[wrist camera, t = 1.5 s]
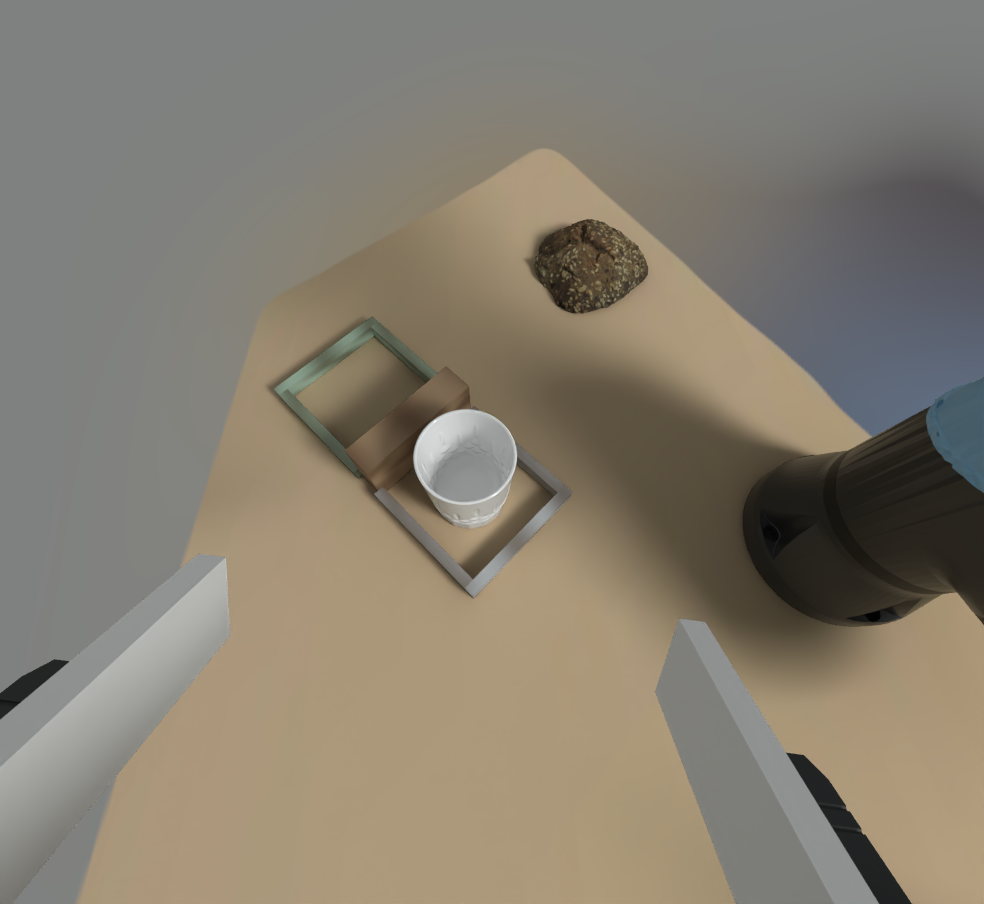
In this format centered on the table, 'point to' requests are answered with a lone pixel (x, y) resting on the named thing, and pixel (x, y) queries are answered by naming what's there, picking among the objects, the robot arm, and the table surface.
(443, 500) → the white cup
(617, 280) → the bread roll
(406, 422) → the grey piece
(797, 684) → the table surface
